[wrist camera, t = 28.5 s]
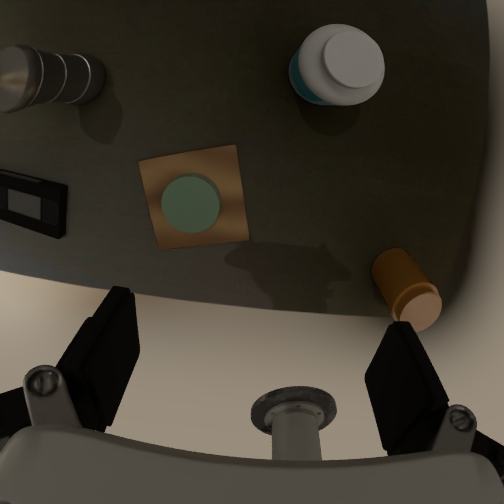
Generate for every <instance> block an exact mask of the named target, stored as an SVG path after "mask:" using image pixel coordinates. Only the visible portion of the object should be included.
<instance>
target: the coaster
mask: <svg viewBox="0 0 504 504" xmlns="http://www.w3.org/2000/svg"><path fill="white" fill-rule="evenodd" d="M138 163H139V167H140V172H141V177H142V181H143V186H144V190H145V195H146V199H147V203H148V207H149V212H150V216H151V220H152V224H153V228H154V232H155V235H156V239H157V243H158V247H159V250H165V249H174V248H183V247H192V246H201V245H211V244H220V243H229V242H239V241H248V240H250V238H249V231H248V224H247V217H246V210H245V203H244V196H243V189H242V182H241V175H240V169H239V162H238V155H237V148H236V144H234V145H227V146H220V147H213V148H207V149H201V150H195V151H189V152H183V153H177V154H172V155H167V156H161V157H156V158H151V159H146V160H142V161H139V162H138ZM187 173H198V174H201V175H204V176H206V177H208V178H209V179H211V180H212V181H213V182H214V183H215V184H216V186H217V188H218V190H219V191H220V195H221V198H222V199H221V205H222V206H221V209H220V211H219V212H220V213H219V215H218V216H217V218H216V220H215V222H214V223H213V224H212V225H211V226H210V227H209V228H207V229H205V230H203V231H201V232H196V233H187V232H183V231H180V230H178V229H176V228H175V227H173V226H172V225H171V224H170V223H169V222H168V221H167V219H166V218H165V216H164V214H163V211H162V205H161V201H162V196H163V193H164V190H165V189H166V187H167V185H168V184H170V183H171V182H172V180H173V179H174V178H177V177H178V176H180V175H181V174H182V175H183V174H187Z"/></svg>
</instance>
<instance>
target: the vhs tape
mask: <svg viewBox="0 0 504 504" xmlns="http://www.w3.org/2000/svg"><path fill="white" fill-rule="evenodd" d="M67 188H68V187H67V185H64V184H60V183H56V182H52V181H48V180H44V179H40V178H36V177H32V176H28V175H24V174H20V173H16V172H12V171H8V170H4V169H0V219H1V220H4V221H7V222H10V223H13V224H15V225H18V226H21V227H24V228H27V229H30V230H33V231H36V232H39V233H42V234H44V235H47V236H50V237H53V238H56V239H60V238H61V237H62V236H64V235H65V230H66V205H67Z"/></svg>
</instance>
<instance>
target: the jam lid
mask: <svg viewBox="0 0 504 504" xmlns="http://www.w3.org/2000/svg"><path fill="white" fill-rule="evenodd" d="M221 199H222V198H221V195H220V191H219V190H218V188H217V186H216V184H215V183H214V182H213V181H212V180H211V179H209V178H208V177H206V176H204V175H201V174H198V173H187V174H183V175H182V174H181V175H180V176H178V177H177V178H174V179H173V180H172V182H171V183H170V184H168V185H167V187H166V189H165V190H164V193H163V196H162V201H161V205H162V211H163V214H164V216H165V218H166V219H167V221H168V222H169V223H170V224H171V225H172V226H173V227H175V228H176V229H178V230H180V231H183V232H187V233H196V232H201V231H203V230H205V229H207V228H209V227H210V226H211V225H212V224H213V223H214V222H215V220H216V218H217V216H218V215H219V213H220V212H219V211H220V209H221V206H222V205H221Z"/></svg>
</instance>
